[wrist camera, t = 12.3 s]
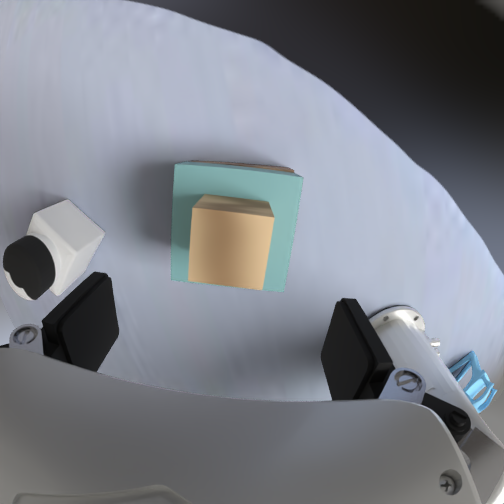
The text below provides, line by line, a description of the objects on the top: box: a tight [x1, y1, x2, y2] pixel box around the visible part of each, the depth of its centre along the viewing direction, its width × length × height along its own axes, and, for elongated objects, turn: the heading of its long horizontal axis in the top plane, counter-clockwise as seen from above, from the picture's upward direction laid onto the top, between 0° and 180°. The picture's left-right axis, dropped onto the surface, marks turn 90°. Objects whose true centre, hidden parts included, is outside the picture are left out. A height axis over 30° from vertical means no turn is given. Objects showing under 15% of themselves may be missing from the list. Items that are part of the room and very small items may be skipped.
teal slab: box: [171, 162, 303, 292], centre depth 24 cm, size 10×10×4 cm
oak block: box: [188, 194, 275, 290], centre depth 20 cm, size 5×5×5 cm
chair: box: [449, 351, 497, 413], centre depth 35 cm, size 8×8×12 cm
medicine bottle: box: [3, 199, 105, 301], centre depth 24 cm, size 7×7×12 cm
